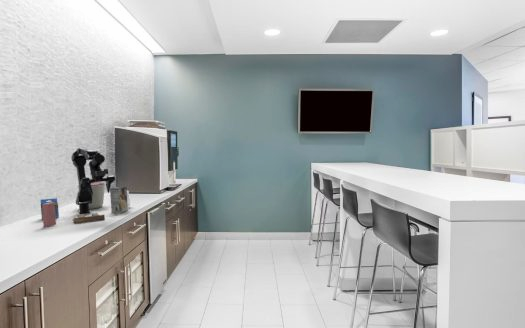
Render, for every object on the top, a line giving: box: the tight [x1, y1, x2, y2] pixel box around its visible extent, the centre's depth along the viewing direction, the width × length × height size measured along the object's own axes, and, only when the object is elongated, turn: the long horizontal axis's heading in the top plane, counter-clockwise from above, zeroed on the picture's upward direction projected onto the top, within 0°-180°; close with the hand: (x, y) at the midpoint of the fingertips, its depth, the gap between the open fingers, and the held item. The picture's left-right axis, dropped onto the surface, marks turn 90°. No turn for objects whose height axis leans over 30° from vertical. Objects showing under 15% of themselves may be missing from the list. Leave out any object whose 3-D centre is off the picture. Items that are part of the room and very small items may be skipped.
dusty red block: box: [42, 201, 57, 228], centre depth 187 cm, size 6×3×12 cm, turn 178°
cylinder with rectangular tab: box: [127, 190, 131, 209], centre depth 238 cm, size 9×9×12 cm
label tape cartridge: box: [40, 197, 60, 220], centre depth 207 cm, size 9×4×12 cm, turn 115°
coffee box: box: [109, 186, 129, 214], centre depth 223 cm, size 9×6×16 cm
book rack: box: [72, 212, 106, 225], centre depth 199 cm, size 11×16×3 cm
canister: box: [77, 182, 106, 210], centre depth 241 cm, size 18×18×21 cm
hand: (100, 193), depth 198 cm, fingers open, 9 cm apart
